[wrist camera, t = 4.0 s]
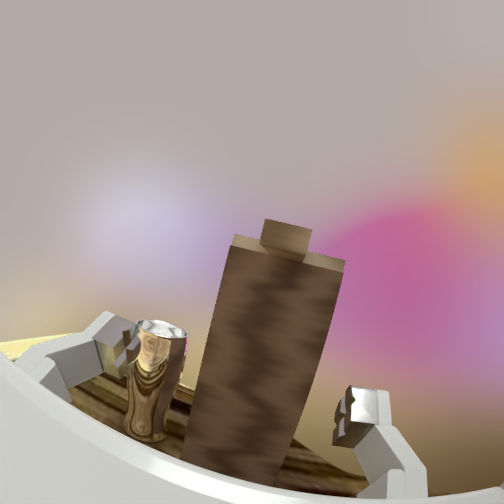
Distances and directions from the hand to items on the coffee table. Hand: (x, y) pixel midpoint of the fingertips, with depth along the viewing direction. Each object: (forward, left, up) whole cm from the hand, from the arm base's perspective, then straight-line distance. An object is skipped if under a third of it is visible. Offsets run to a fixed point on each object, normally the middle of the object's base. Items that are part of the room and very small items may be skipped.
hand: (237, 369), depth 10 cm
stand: (0, -24, -21) cm, 31 cm away
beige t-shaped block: (0, -19, +5) cm, 19 cm away
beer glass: (+12, -22, -21) cm, 32 cm away
